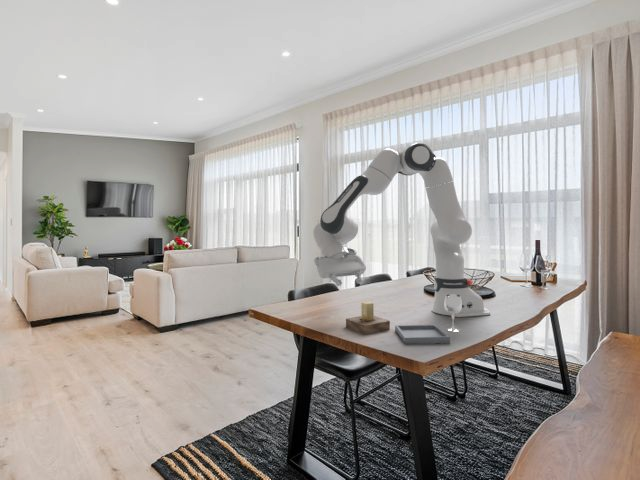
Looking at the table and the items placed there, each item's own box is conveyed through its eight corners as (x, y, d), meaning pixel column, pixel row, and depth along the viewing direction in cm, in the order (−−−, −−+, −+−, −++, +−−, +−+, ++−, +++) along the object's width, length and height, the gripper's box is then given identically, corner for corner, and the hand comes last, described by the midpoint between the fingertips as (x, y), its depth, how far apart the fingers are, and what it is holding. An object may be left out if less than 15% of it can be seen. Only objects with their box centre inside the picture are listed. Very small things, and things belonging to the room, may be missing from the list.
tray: (435, 330, 130) (435, 324, 130) (449, 343, 116) (449, 336, 116) (395, 330, 130) (395, 325, 130) (404, 344, 116) (404, 337, 116)
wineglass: (441, 328, 133) (441, 294, 132) (457, 327, 133) (457, 293, 133) (448, 332, 127) (448, 297, 126) (464, 332, 127) (465, 297, 127)
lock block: (369, 322, 141) (369, 314, 141) (389, 329, 132) (389, 320, 132) (345, 326, 136) (345, 318, 135) (365, 334, 126) (364, 325, 126)
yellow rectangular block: (368, 326, 136) (368, 301, 135) (373, 328, 133) (373, 303, 133) (361, 327, 134) (361, 302, 134) (366, 329, 132) (366, 304, 131)
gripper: (315, 252, 142) (330, 281, 135) (358, 249, 153) (374, 276, 145) (309, 262, 146) (323, 291, 139) (352, 259, 157) (367, 286, 149)
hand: (350, 283), depth 142 cm, fingers open, 8 cm apart
